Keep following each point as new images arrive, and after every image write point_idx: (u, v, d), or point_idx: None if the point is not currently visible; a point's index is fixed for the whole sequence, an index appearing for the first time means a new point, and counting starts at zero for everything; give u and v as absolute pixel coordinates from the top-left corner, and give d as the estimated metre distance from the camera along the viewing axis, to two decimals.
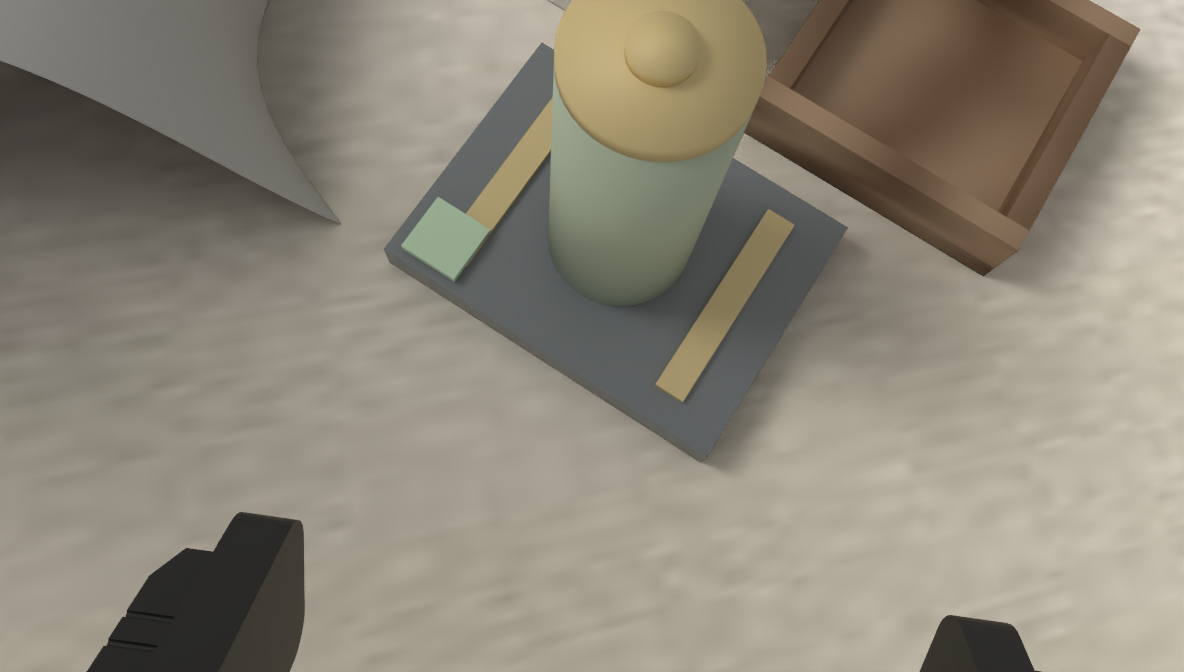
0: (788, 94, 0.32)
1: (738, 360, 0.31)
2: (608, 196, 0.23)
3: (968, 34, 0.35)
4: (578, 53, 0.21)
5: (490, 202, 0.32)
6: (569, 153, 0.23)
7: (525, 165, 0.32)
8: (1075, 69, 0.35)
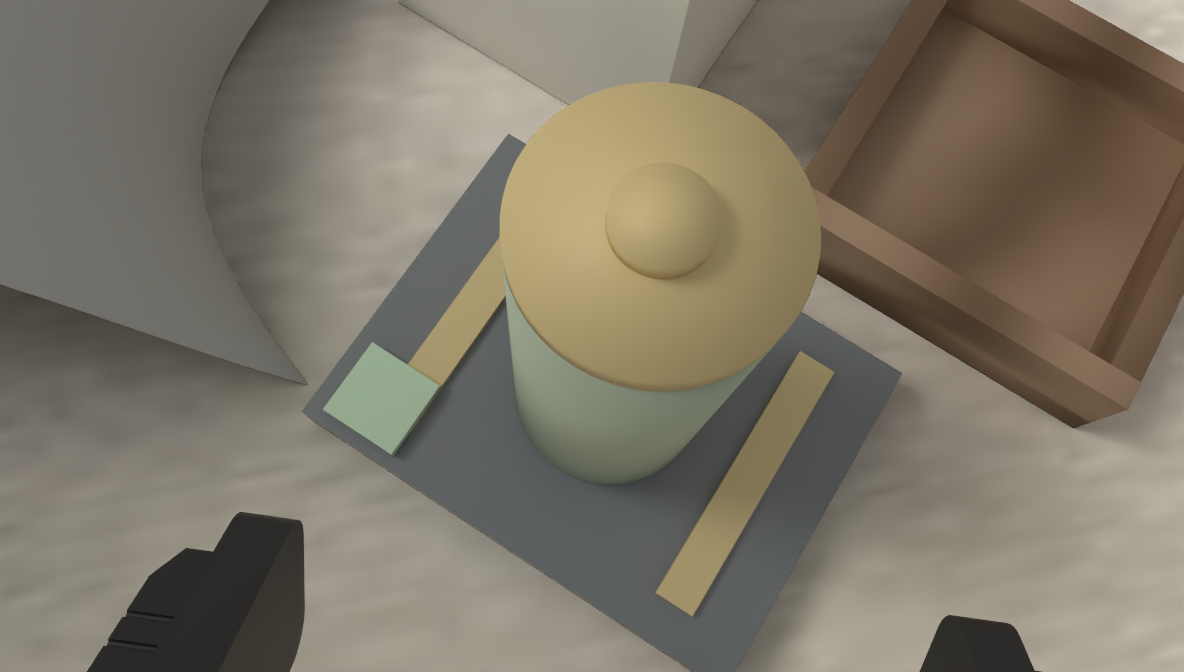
0: (825, 203, 0.25)
1: (764, 556, 0.24)
2: (587, 410, 0.16)
3: (1047, 115, 0.28)
4: (536, 227, 0.14)
5: (440, 347, 0.24)
6: (528, 353, 0.16)
7: (486, 297, 0.25)
8: (1182, 159, 0.28)
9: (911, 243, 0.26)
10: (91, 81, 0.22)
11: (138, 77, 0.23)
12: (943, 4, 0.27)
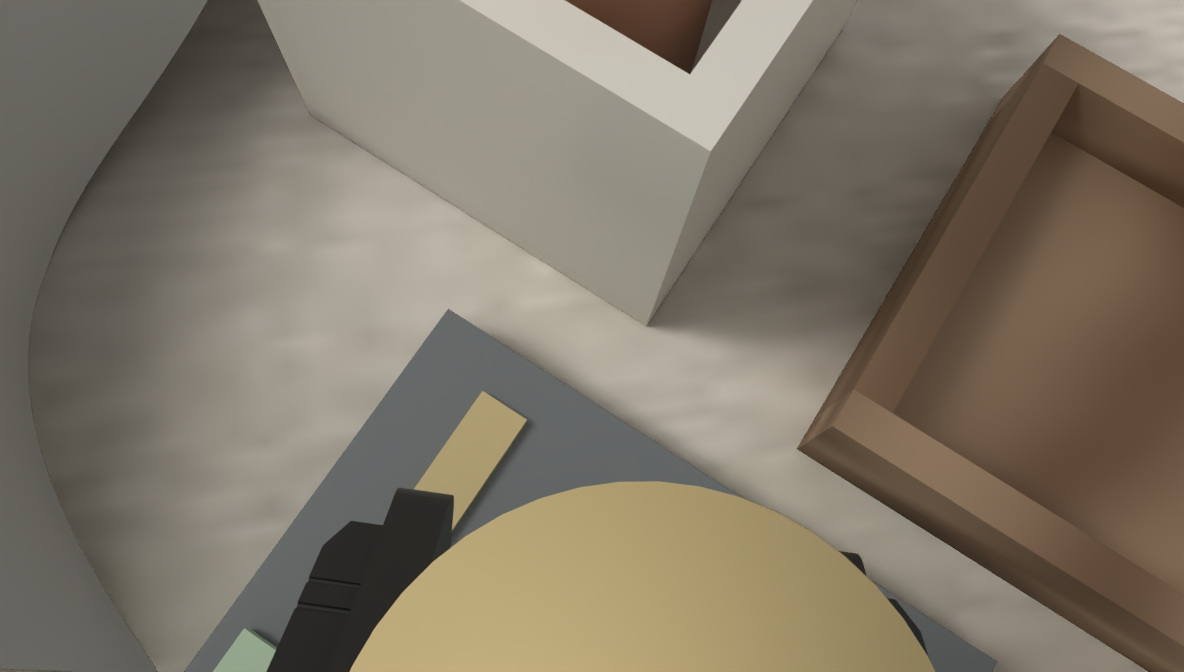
0: (890, 425, 0.17)
1: None
2: None
3: (1183, 274, 0.20)
4: None
5: None
6: None
7: None
8: None
9: (1004, 461, 0.19)
10: None
11: None
12: (1049, 131, 0.19)
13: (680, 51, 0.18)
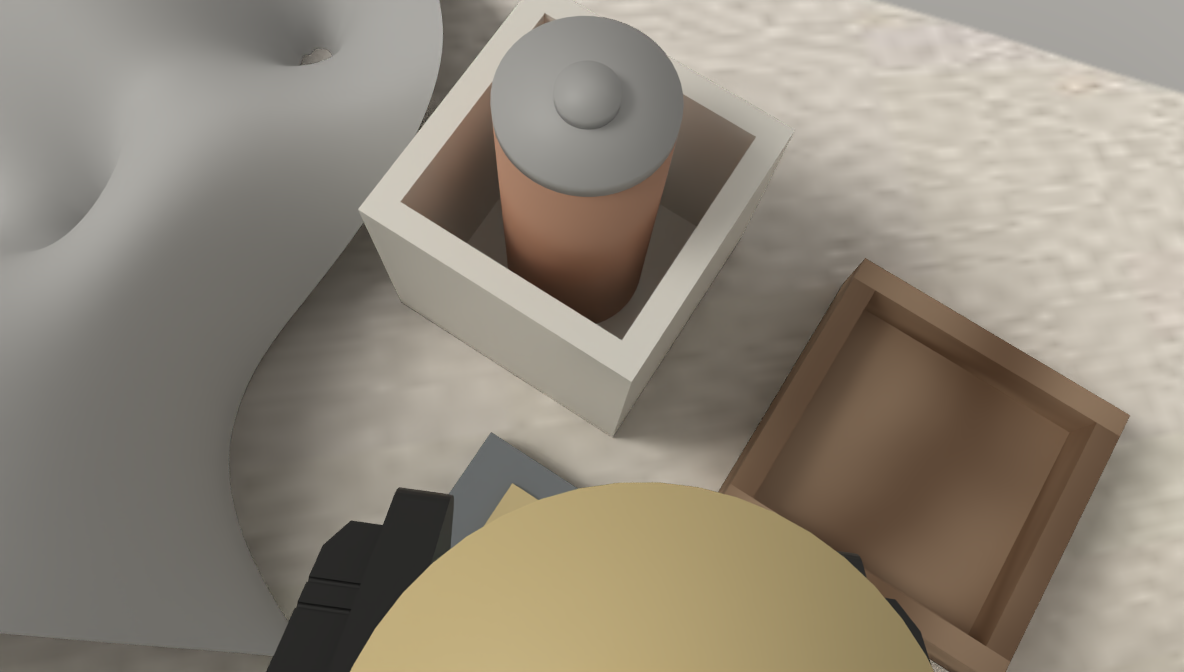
0: None
1: None
2: None
3: (947, 403, 0.33)
4: None
5: None
6: None
7: None
8: (1061, 442, 0.33)
9: (828, 522, 0.32)
10: (142, 445, 0.27)
11: (180, 422, 0.29)
12: (855, 321, 0.32)
13: (628, 280, 0.31)
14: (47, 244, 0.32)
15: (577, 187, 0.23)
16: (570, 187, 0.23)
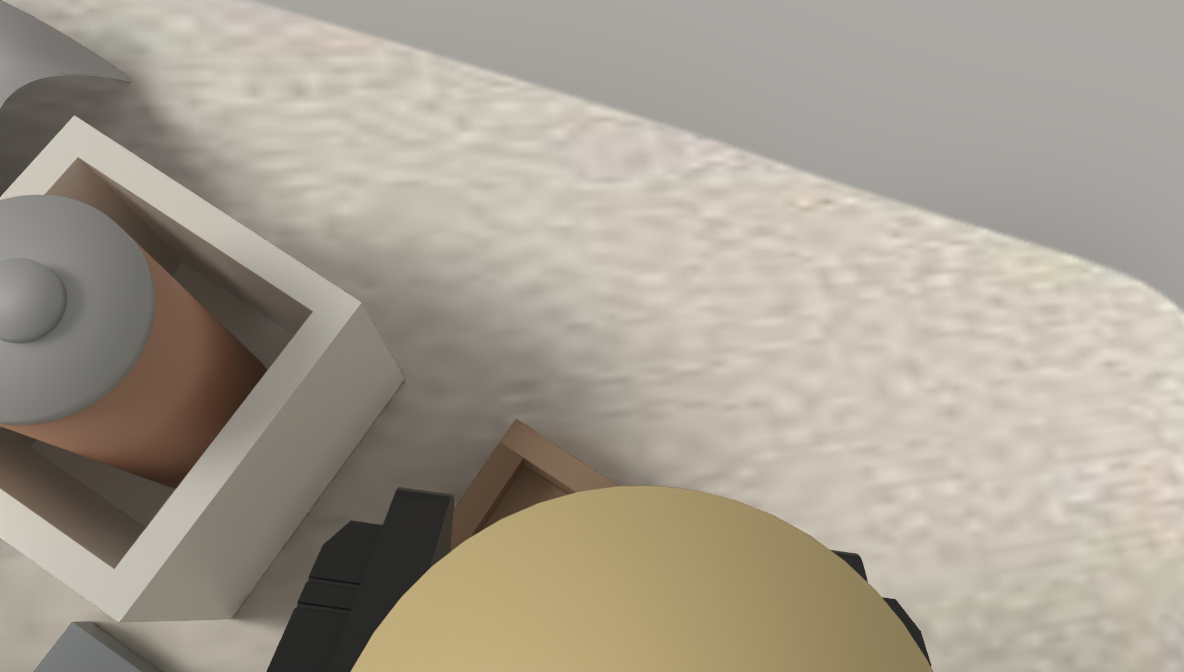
0: None
1: None
2: None
3: None
4: None
5: None
6: None
7: None
8: None
9: None
10: None
11: None
12: (496, 495, 0.28)
13: None
14: None
15: None
16: None
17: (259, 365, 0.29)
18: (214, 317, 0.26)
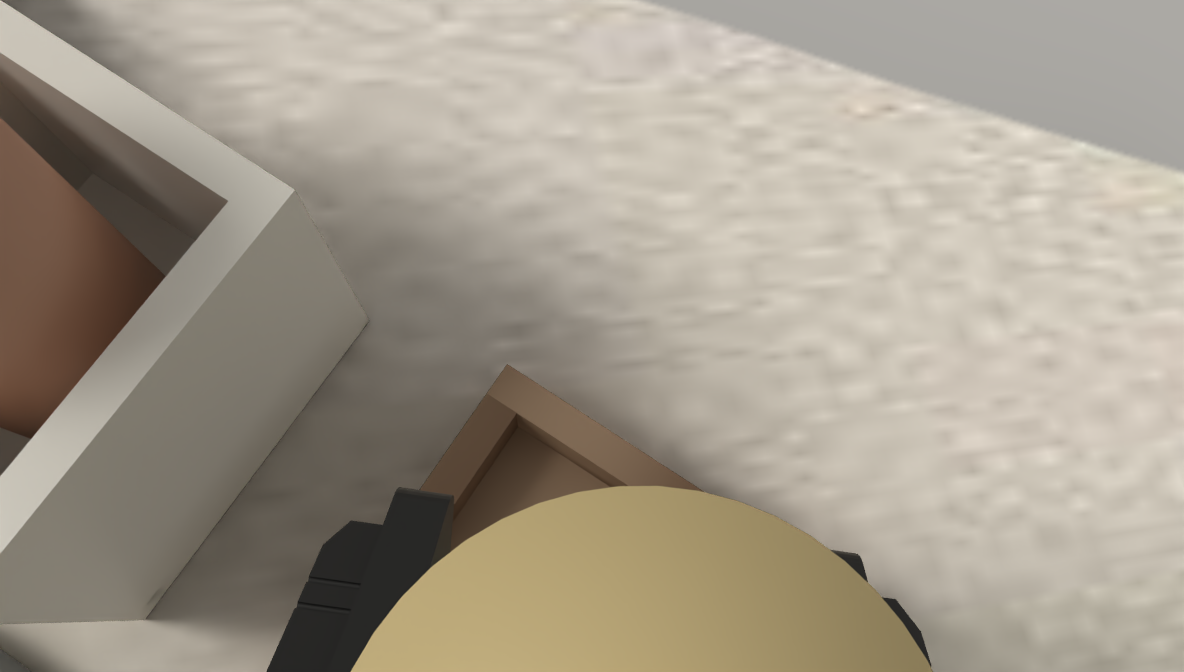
0: None
1: None
2: None
3: None
4: None
5: None
6: None
7: None
8: None
9: None
10: None
11: None
12: (481, 461, 0.21)
13: None
14: None
15: None
16: None
17: None
18: (110, 223, 0.20)
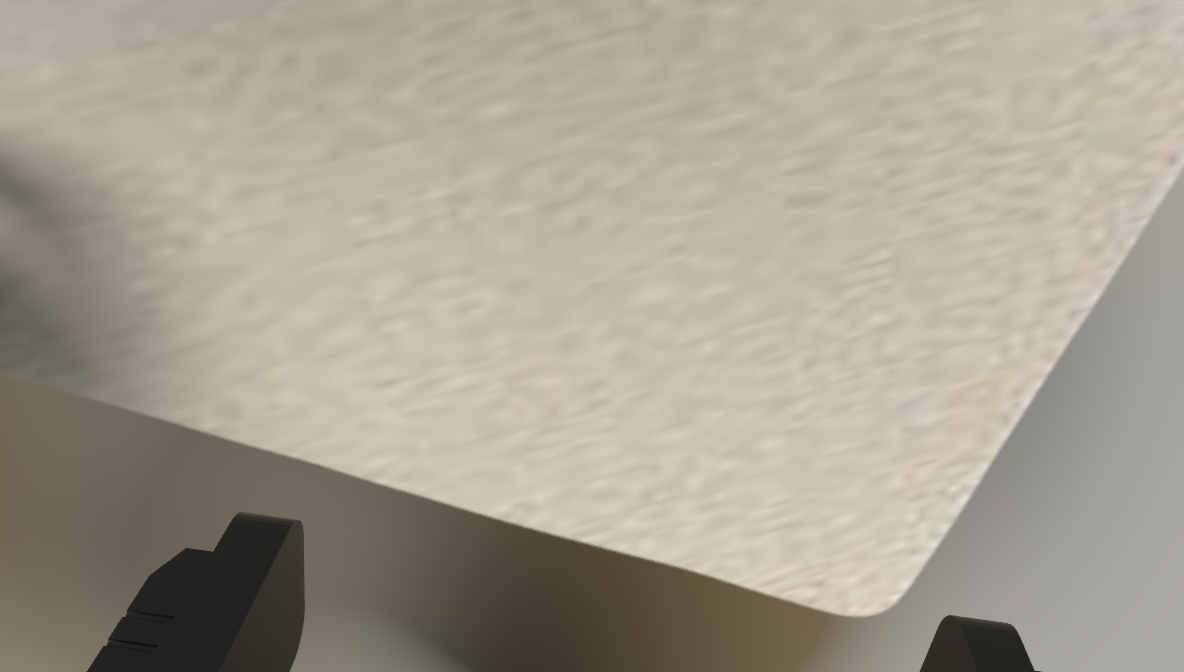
0: None
1: None
2: None
3: None
4: None
5: None
6: None
7: None
8: None
9: None
10: None
11: None
12: None
13: None
14: None
15: None
16: None
17: None
18: None
